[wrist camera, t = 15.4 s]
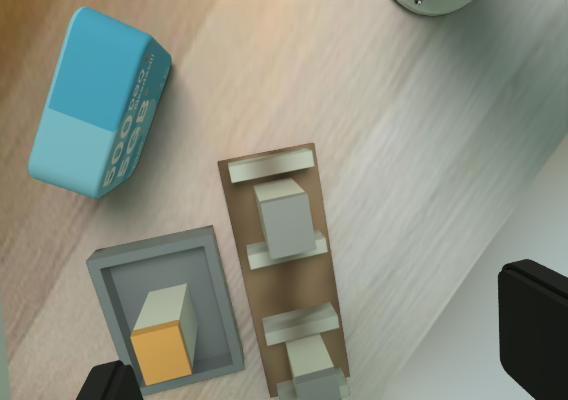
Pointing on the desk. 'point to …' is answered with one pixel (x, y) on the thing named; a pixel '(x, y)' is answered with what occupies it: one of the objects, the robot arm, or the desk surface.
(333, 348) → the fuse board
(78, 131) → the data package
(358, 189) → the desk surface
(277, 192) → the block
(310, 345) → the block
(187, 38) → the desk surface
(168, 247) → the tray
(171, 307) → the block
